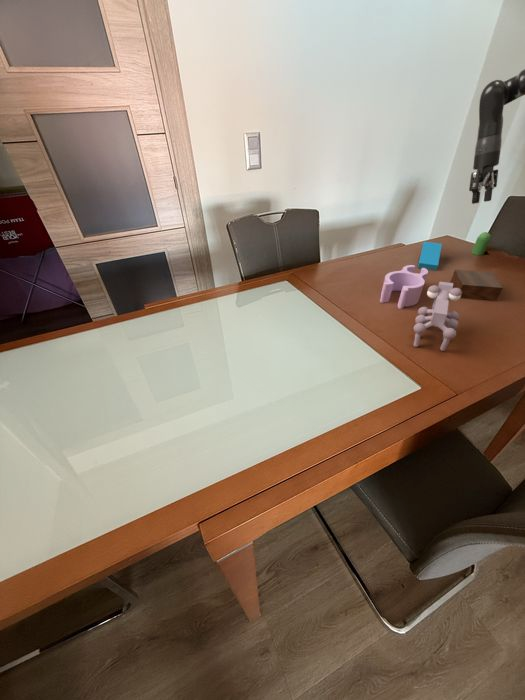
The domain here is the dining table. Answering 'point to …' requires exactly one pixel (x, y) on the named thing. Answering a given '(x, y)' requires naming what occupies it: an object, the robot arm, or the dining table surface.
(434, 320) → the mauve bug toy
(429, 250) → the blue rectangular brick
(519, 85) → the robot arm
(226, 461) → the dining table surface
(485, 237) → the green toy
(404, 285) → the clip
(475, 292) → the walnut block
